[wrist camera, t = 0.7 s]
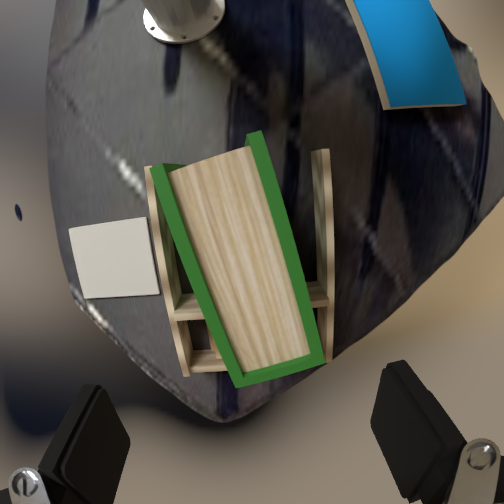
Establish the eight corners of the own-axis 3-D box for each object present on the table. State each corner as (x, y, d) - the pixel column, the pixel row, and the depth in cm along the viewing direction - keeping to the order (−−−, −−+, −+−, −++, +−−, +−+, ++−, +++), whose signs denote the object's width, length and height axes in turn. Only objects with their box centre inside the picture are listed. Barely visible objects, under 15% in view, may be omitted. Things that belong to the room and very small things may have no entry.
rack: (156, 167, 41) (141, 166, 34) (317, 151, 41) (331, 148, 34) (188, 355, 49) (182, 380, 42) (322, 342, 49) (333, 365, 42)
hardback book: (198, 169, 41) (149, 168, 18) (249, 152, 41) (261, 130, 18) (236, 282, 46) (235, 388, 22) (284, 268, 45) (325, 363, 22)
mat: (70, 228, 42) (68, 229, 42) (146, 216, 42) (145, 217, 42) (85, 297, 45) (84, 298, 45) (160, 292, 46) (159, 293, 45)
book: (392, 108, 36) (340, -28, 29) (379, 112, 40) (332, -16, 33) (469, 104, 36) (422, -19, 29) (455, 106, 40) (412, -10, 33)
